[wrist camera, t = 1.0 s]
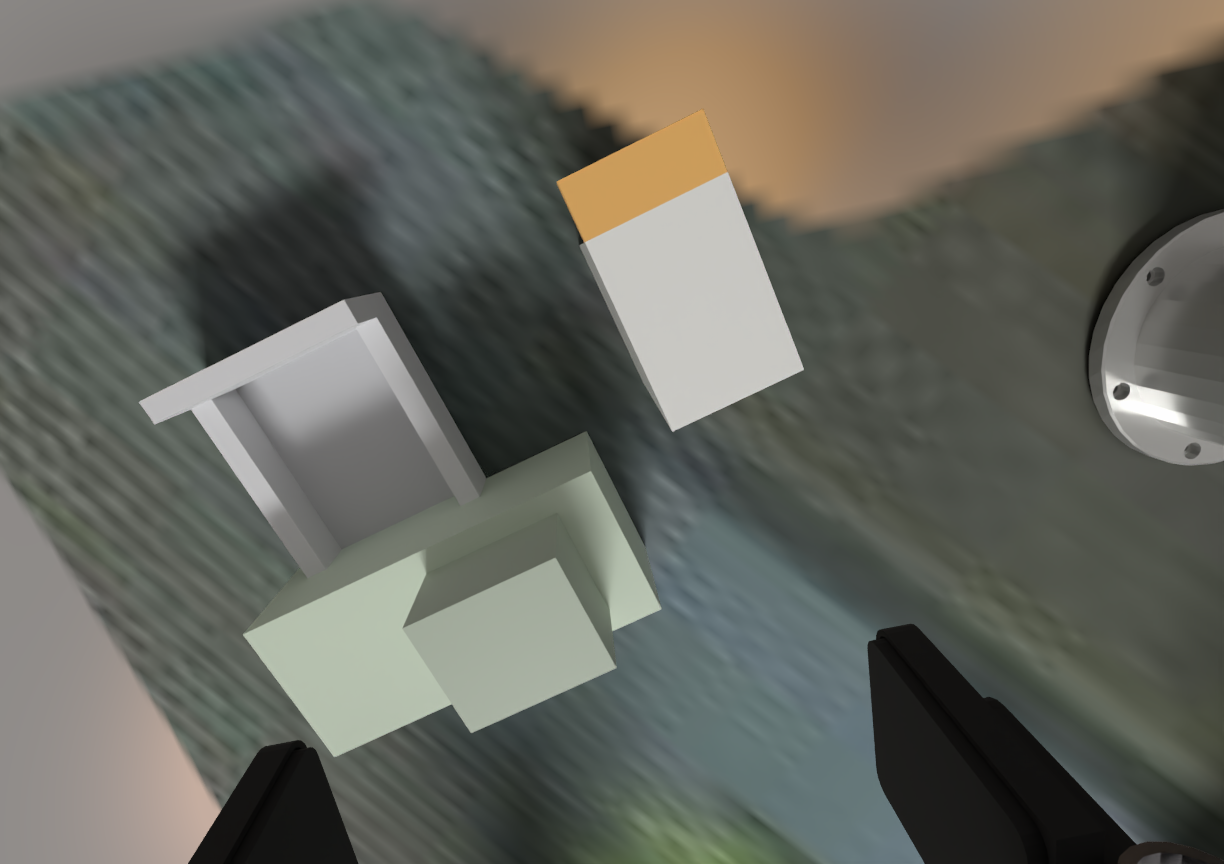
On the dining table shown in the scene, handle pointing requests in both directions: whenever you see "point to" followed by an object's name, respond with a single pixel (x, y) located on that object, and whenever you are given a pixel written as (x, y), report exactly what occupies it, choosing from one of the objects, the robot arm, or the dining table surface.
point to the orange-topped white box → (681, 271)
